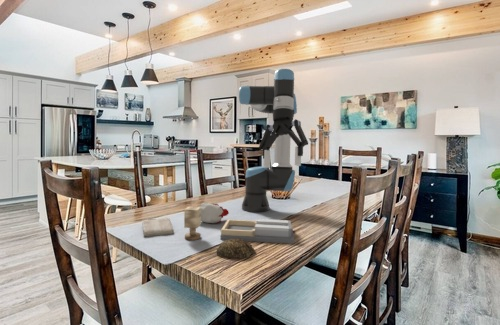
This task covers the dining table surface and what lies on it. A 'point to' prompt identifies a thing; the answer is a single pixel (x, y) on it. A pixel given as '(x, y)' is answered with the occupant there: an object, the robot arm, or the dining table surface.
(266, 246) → the dining table surface
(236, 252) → the bread roll
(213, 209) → the white and red figurine
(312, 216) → the dining table surface
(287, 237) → the keyhole board
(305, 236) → the dining table surface
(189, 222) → the maple peg
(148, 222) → the washcloth
